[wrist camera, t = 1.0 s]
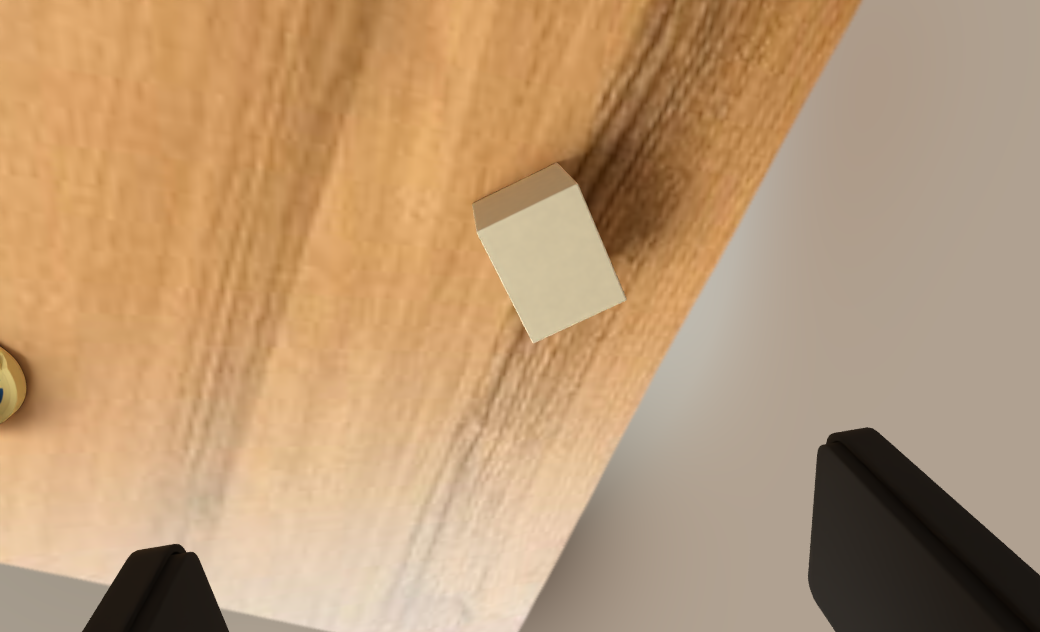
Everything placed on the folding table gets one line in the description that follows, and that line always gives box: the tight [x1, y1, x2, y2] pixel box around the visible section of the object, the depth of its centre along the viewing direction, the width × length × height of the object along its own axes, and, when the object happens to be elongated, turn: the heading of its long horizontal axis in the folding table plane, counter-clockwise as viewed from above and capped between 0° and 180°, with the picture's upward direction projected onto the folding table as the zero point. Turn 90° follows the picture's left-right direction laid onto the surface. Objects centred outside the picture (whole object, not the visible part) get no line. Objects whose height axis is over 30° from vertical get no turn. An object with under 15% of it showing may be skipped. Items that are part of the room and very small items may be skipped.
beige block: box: [472, 163, 626, 343], centre depth 26 cm, size 4×5×4 cm
